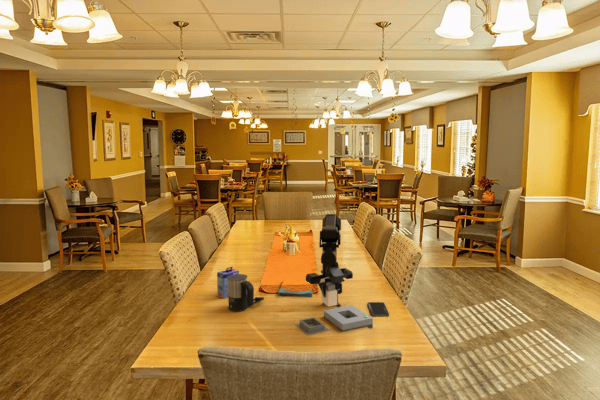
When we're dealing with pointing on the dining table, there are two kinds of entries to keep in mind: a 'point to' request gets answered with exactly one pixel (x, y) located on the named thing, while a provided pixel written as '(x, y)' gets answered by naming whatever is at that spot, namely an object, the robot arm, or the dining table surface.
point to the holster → (311, 326)
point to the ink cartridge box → (224, 281)
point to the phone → (378, 309)
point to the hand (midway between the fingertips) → (329, 296)
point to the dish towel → (294, 293)
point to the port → (348, 318)
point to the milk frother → (240, 293)
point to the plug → (330, 295)
